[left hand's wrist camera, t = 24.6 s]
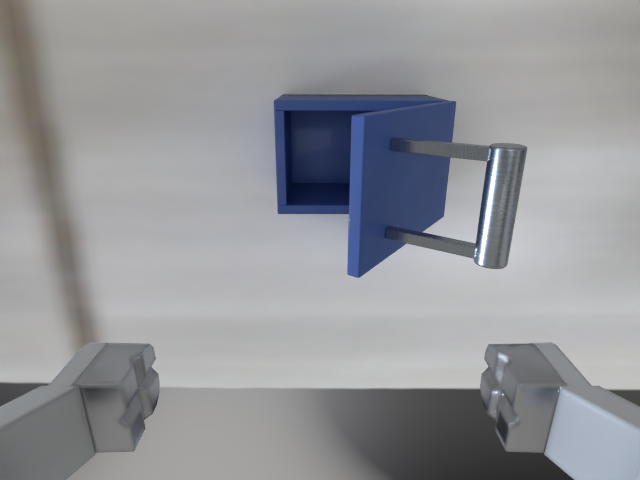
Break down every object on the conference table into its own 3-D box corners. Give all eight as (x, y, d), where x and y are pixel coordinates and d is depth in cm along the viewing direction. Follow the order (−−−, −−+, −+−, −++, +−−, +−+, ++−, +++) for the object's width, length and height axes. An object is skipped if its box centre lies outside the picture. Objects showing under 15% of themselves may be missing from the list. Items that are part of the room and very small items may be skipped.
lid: (346, 274, 26) (485, 315, 22) (350, 114, 23) (515, 125, 18) (434, 215, 37) (538, 234, 33) (445, 100, 34) (563, 105, 29)
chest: (285, 188, 45) (277, 214, 37) (282, 94, 42) (273, 100, 34) (416, 188, 45) (437, 214, 37) (424, 94, 42) (449, 100, 34)
